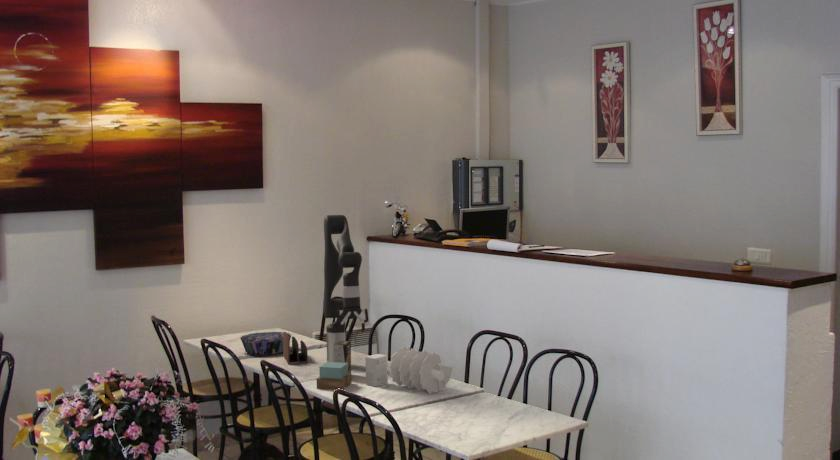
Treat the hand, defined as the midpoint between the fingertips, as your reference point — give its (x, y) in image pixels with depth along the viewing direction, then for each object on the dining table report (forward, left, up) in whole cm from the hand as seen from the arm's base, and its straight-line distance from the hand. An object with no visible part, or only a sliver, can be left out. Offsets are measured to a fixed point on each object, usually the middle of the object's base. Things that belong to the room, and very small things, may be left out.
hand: (353, 332), depth 383 cm
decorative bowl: (-55, -68, -24) cm, 91 cm away
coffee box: (-13, -10, -24) cm, 29 cm away
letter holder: (-40, -45, -24) cm, 65 cm away
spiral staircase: (+1, +31, -24) cm, 39 cm away
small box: (-3, +10, -24) cm, 26 cm away
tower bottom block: (+4, -8, -24) cm, 26 cm away
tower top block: (+4, -8, -19) cm, 21 cm away
